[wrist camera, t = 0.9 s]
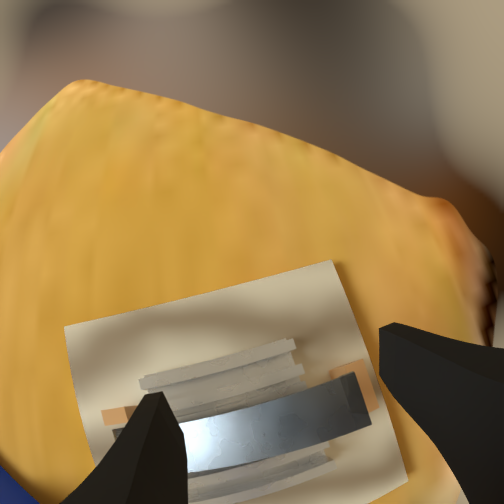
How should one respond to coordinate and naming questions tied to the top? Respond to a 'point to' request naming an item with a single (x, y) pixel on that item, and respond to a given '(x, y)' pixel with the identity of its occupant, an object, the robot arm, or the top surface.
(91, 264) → the top surface
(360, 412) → the retention strap
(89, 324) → the board
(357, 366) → the lugs
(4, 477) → the bracket
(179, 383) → the heat sink
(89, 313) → the top surface
